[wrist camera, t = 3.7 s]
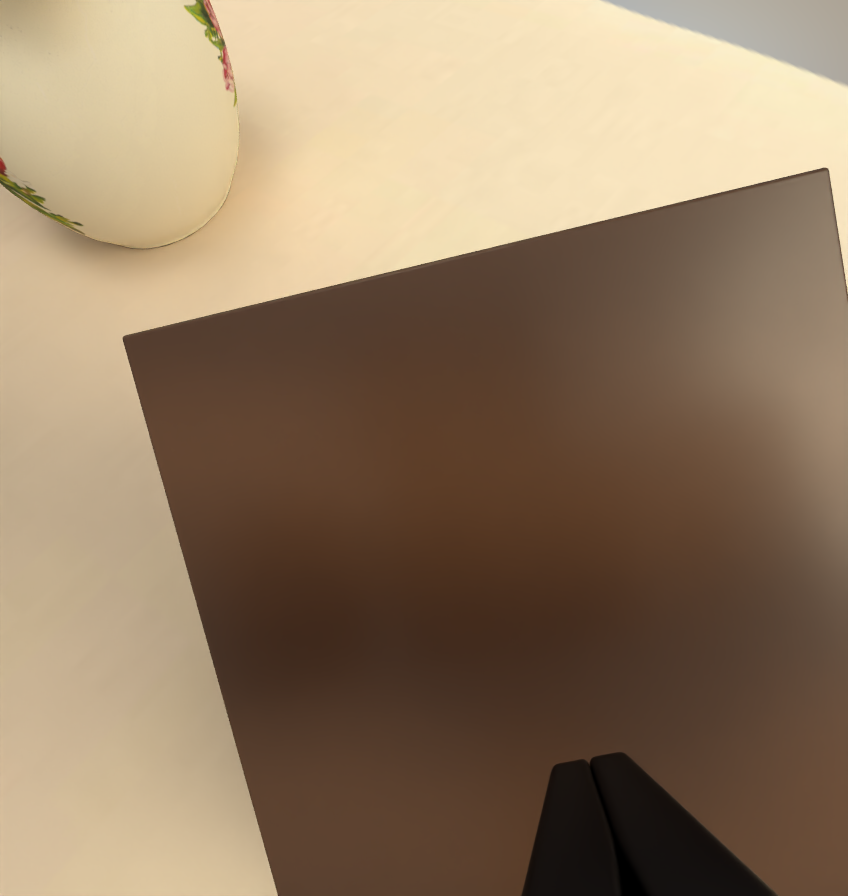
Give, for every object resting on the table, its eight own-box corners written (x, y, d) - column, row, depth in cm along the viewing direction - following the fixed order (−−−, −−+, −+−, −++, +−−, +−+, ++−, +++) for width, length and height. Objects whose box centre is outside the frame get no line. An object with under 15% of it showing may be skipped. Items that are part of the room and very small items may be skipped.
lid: (141, 337, 12) (120, 335, 12) (803, 178, 12) (829, 166, 11) (319, 980, 14) (311, 1019, 13) (913, 875, 13) (943, 908, 12)
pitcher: (169, 43, 39) (-2, -301, 27) (352, 222, 31) (224, -152, 19) (-11, 150, 38) (-279, -166, 26) (134, 368, 30) (-157, 60, 18)
